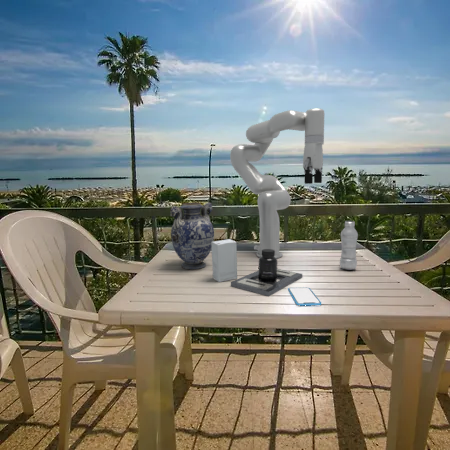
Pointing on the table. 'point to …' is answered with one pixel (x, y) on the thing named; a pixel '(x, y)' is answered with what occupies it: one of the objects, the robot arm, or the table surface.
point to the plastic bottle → (348, 246)
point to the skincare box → (224, 260)
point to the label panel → (266, 288)
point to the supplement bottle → (268, 267)
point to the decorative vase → (192, 233)
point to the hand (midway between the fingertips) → (313, 183)
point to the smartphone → (304, 296)
